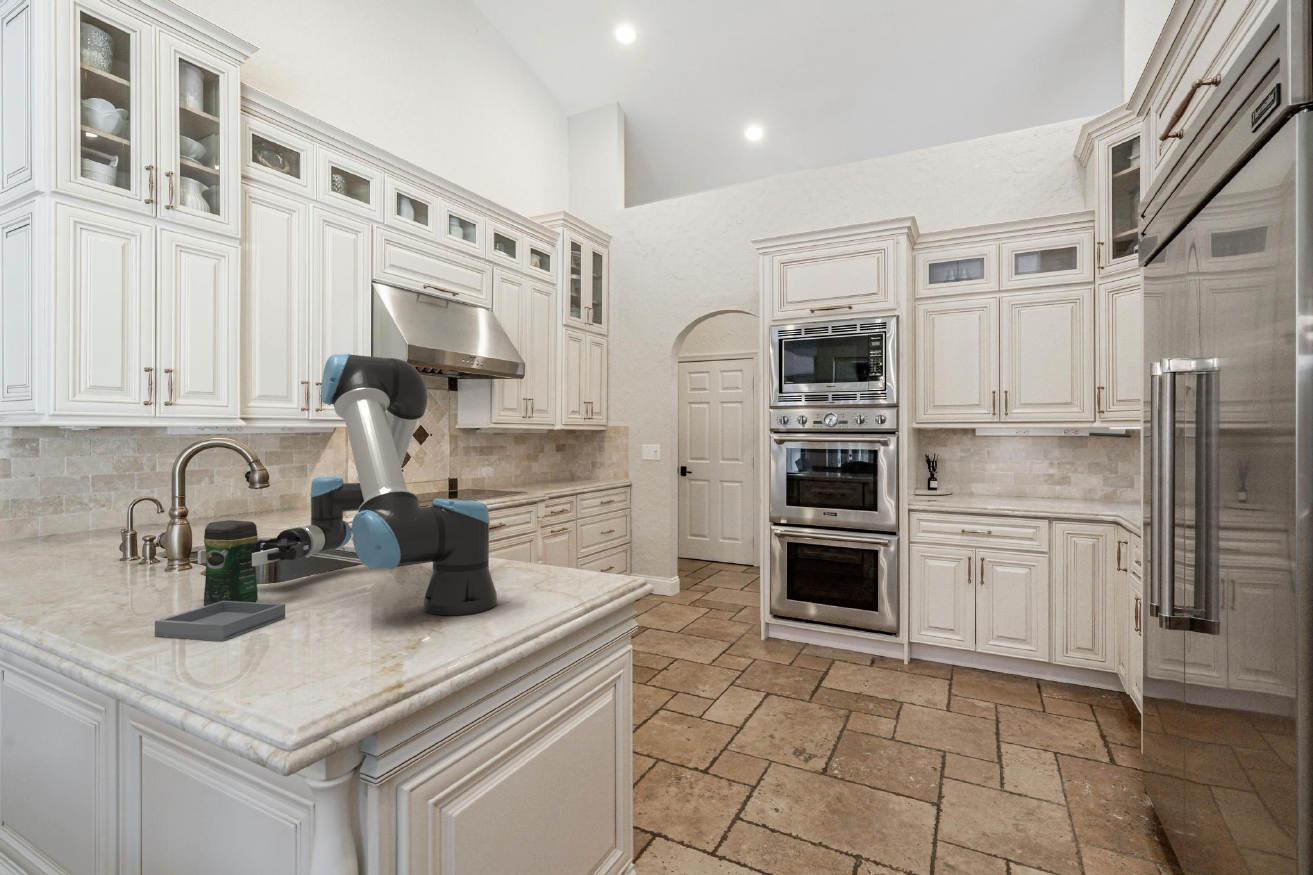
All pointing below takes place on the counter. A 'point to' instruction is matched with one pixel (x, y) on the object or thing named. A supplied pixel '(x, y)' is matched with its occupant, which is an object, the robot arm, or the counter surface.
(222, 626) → the holder
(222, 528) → the coffee jar
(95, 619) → the counter surface
